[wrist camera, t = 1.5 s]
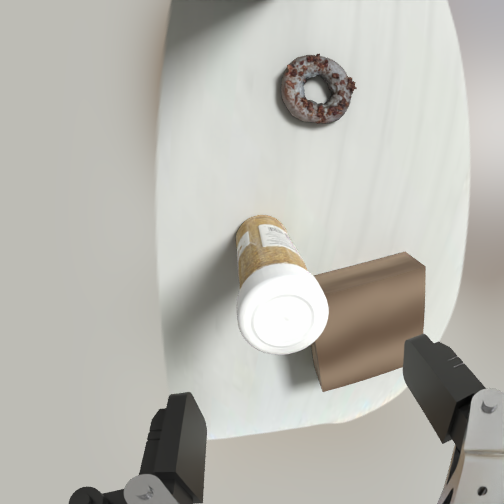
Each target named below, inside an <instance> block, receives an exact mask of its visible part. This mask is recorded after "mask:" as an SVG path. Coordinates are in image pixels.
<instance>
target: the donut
mask: <svg viewBox="0 0 504 504" xmlns="http://www.w3.org/2000/svg"><path fill="white" fill-rule="evenodd" d="M316 75H319V76H320V77H322V78H323V79H324V80H325V81H326V82H327V83H328V86H329V90H331V91H332V95H331V97H330V98H329V100H328V101H327V102H326V103H325V104H322V103H320V104H317V103H316V102H314V101H312V100H307V99H306V97H305V93H304V84H305V83H306V79H309V78H311V77H316ZM281 85H282V86H281V89H282V91H281V93H282V100H283V102H284V104H285V105H286V107H287V108H288V110H289V111H290V113H291V114H292V116H294V117H295V118H298V119H300V120H301V121H305V122H316V123H330V122H332V121H336V120H339V119H340V118H341V117H342V116H343V115H344V114H345V112H346V110H347V109H348V107H349V104H350V100H351V95H352V93H353V91H354V89H357V88H356V87H355V82H354V81H352V78H351V77H348V76H347V74H346V72H345V71H344V69H343V68H342V67H341V66H340V65H339V64H337V63H336V62H335V61H333V60H331V59H329V58H325V57H321V56H320V54H317V55H316V56H315V55H306V56H302V57H298V58H296V59H295V60H293V61H292V62H291V63H290V64H289V65H287V68H286V70H285V72H284V75H283V77H282V84H281Z"/></svg>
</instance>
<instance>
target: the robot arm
mask: <svg viewBox="0 0 504 504" xmlns="http://www.w3.org/2000/svg"><path fill="white" fill-rule="evenodd" d="M403 376H404V380H405V382H406V384H407V386H408V388H409V389H410V391H411V392H412V394H413V396H414V397H415V399H416V400H417V402H418V404H419V405H420V407H421V408H422V410H423V412H424V413H425V415H426V417H427V418H428V420H429V422H430V423H431V425H432V426H433V428H434V430H435V431H436V433H437V435H438V437H439V438H440V440H441V442H442V444H443V443H445V442H447V441H449V440H453V441H454V443H455V447H454V450H453V454H452V458H451V463H450V466H449V470H448V474H447V478H446V481H445V485H444V488H443V491H442V494H441V496H440V498H439V501H438V503H437V504H504V393H503V392H501V391H500V390H497V389H493V388H487V389H486V388H485V387H484V386H483V385H482V383H481V382H480V381H479V380H478V379H477V378H476V376H475V375H474V374H473V373H472V372H471V371H470V370H469V368H468V367H467V366H466V365H465V364H463V361H462V360H461V359H460V358H459V357H457V355H456V354H455V353H454V351H453V350H452V349H451V348H450V347H448V346H446V345H444V344H442V343H440V342H437V343H433V342H432V341H431V340H430V339H429V338H428V337H427V335H425V334H421V335H418V336H415V337H413V338H410V339H407V340H406V341H405V343H404V359H403ZM147 439H148V441H147V442H146V447H145V451H144V456H143V460H142V465H141V469H140V473H139V475H138V476H136V477H134V478H132V479H131V480H130V481H129V482H128V483H127V484H126V486H125V488H124V489H121V490H117V491H113V492H109V493H104V494H102V493H100V492H99V491H98V490H97V489H95V488H93V487H82V488H80V489H78V490H76V491H75V492H74V493H73V495H72V496H71V498H70V501H69V504H193V503H203V489H204V471H205V454H206V439H207V427H206V422H205V419H204V417H203V415H202V413H201V411H200V409H199V407H198V405H197V403H196V401H195V399H194V397H193V395H192V394H191V393H190V392H186V393H179V394H171V395H170V396H169V399H168V403H167V408H165V409H159V411H158V412H157V413H156V415H155V416H154V418H153V419H152V422H151V426H150V432H149V434H148V438H147Z"/></svg>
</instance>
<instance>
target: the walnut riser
mask: <svg viewBox="0 0 504 504" xmlns="http://www.w3.org/2000/svg"><path fill="white" fill-rule="evenodd" d="M314 277H315V279H316V280H317V282H318V283H319V285H320V287H321V289H322V290H323V292H324V295H325V297H326V299H327V303H328V308H329V315H328V320H327V324H326V326H325V328H324V330H323V332H322V333H321V335H320V336H319V337H318V338H317V339H316V340H315V341H314V342H313V343H312V344H311V349H312V355H313V361H314V367H315V370H316V373H317V376H318V379H319V382H320V385H321V388H322V391H323V392H325V391H328V390H332V389H336V388H339V387H343V386H346V385H349V384H353V383H356V382H359V381H363V380H366V379H369V378H372V377H375V376H378V375H381V374H384V373H387V372H390V371H393V370H395V369H398V368H401V367H403V359H404V343H405V341H406V340H407V339H410V338H413V337H415V336H418V335H421V334H423V327H424V309H425V266H424V265H423V264H421V263H420V262H419V261H417V260H416V259H415V258H413V257H412V256H410V255H409V254H408V253H406V252H402V253H398V254H395V255H391V256H387V257H384V258H380V259H376V260H373V261H369V262H365V263H361V264H357V265H354V266H350V267H346V268H342V269H338V270H334V271H330V272H326V273H322V274H318V275H314Z"/></svg>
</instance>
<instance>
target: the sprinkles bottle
mask: <svg viewBox="0 0 504 504" xmlns="http://www.w3.org/2000/svg"><path fill="white" fill-rule="evenodd" d="M236 248H237V261H238V277H239V283H240V291H239V293H238V297H237V320H238V326H239V329H240V332H241V334H242V336H243V337H244V339H245V340H246V341H247V342H248V343H249V344H250V345H251V346H253V347H254V348H256V349H257V350H259V351H262V352H264V353H268V354H274V355H285V354H291V353H295V352H298V351H300V350H303V349H305V348H306V347H308V346H309V345H311V344H312V343H313V342H314V341H315V340H316V339H317V338H318V337H319V336H320V335H321V333H322V332H323V330H324V328H325V326H326V324H327V320H328V315H329V308H328V303H327V299H326V297H325V295H324V292H323V290H322V289H321V287H320V285H319V283H318V282H317V280H316V279H315V277H314V276H313V275H312V274H311V273H310V272H308V270H307V268H306V265H305V263H304V261H303V259H302V258H301V256H300V254H299V252H298V251H297V249H296V247H295V246H294V244H293V242H292V241H291V239H290V237H289V236H288V234H287V231H286V229H285V227H284V226H283V225H282V223H280V222H279V221H278V220H277V219H276V218H273V217H271V216H267V215H258V216H254V217H251V218H249V219H247V220H246V221H245V222H244V223H243V224H242V225H241V227H240V228H239V230H238V232H237V235H236Z"/></svg>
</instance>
